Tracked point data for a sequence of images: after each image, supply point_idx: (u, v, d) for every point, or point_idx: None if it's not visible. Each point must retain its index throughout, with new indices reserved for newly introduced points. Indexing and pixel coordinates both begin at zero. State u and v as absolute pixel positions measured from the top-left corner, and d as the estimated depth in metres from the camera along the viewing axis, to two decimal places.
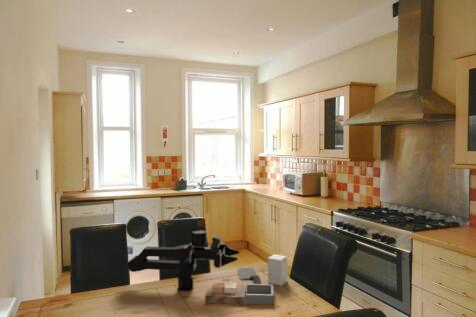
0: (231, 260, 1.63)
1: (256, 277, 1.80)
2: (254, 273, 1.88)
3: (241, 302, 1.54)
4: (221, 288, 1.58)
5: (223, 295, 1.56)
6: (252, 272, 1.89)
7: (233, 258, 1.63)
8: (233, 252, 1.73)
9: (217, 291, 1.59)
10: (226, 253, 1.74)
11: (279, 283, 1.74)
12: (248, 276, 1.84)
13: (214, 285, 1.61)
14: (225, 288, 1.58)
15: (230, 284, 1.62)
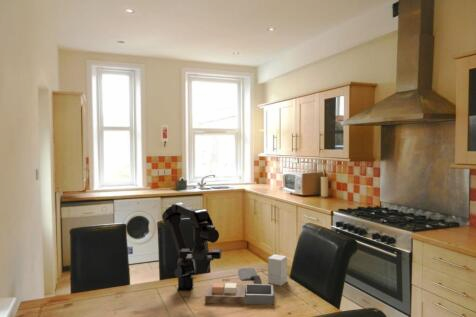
0: None
1: (257, 277, 1.80)
2: (255, 273, 1.88)
3: (241, 302, 1.54)
4: (221, 288, 1.58)
5: (223, 295, 1.56)
6: (252, 272, 1.89)
7: None
8: None
9: (217, 291, 1.59)
10: None
11: (279, 283, 1.74)
12: (249, 276, 1.84)
13: (214, 285, 1.61)
14: (225, 288, 1.58)
15: (230, 284, 1.62)
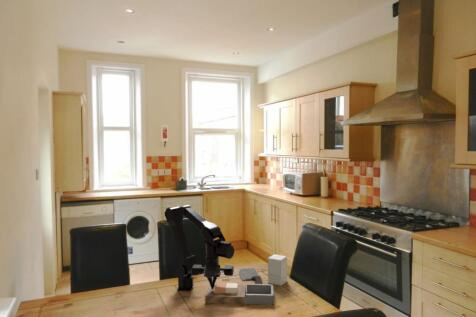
0: None
1: (258, 277, 1.80)
2: (255, 273, 1.87)
3: (241, 302, 1.54)
4: (223, 288, 1.58)
5: (223, 295, 1.56)
6: (253, 272, 1.89)
7: None
8: (212, 282, 1.61)
9: (219, 291, 1.59)
10: None
11: (279, 283, 1.74)
12: (249, 276, 1.83)
13: (216, 285, 1.61)
14: (226, 288, 1.58)
15: (231, 284, 1.62)
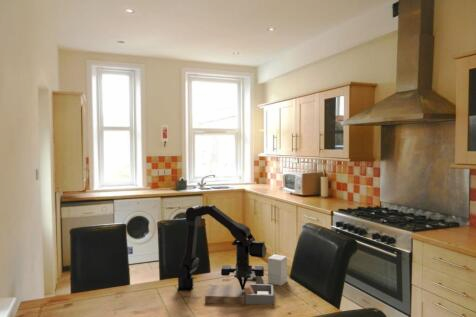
0: None
1: (259, 278, 1.79)
2: None
3: (241, 302, 1.54)
4: None
5: (223, 295, 1.56)
6: (254, 273, 1.88)
7: None
8: (243, 283, 1.60)
9: None
10: None
11: (279, 283, 1.74)
12: None
13: (249, 287, 1.59)
14: None
15: None
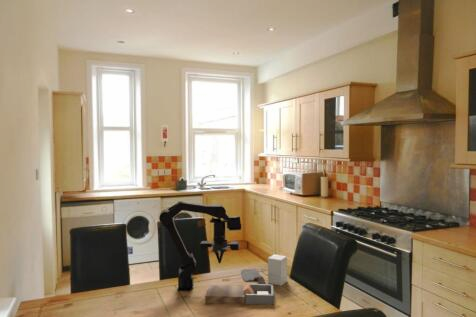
0: None
1: (260, 278, 1.79)
2: (258, 274, 1.86)
3: (241, 302, 1.54)
4: None
5: (223, 295, 1.56)
6: (256, 273, 1.88)
7: None
8: (220, 257, 1.74)
9: None
10: None
11: (279, 283, 1.74)
12: (252, 277, 1.82)
13: (249, 287, 1.60)
14: None
15: None
